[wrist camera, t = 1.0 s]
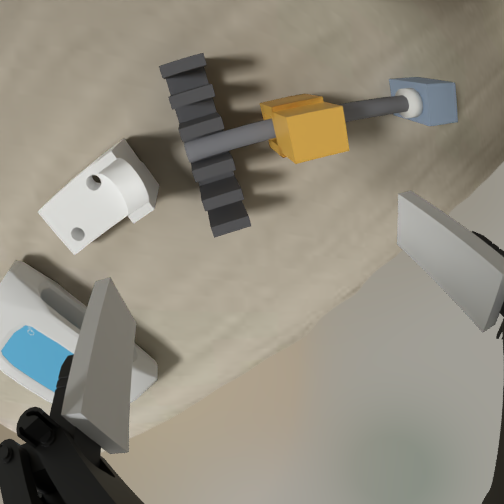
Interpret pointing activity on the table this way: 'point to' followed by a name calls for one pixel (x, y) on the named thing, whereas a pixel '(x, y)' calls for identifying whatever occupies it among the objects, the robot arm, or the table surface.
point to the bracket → (101, 197)
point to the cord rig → (272, 130)
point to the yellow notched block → (306, 127)
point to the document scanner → (48, 333)
